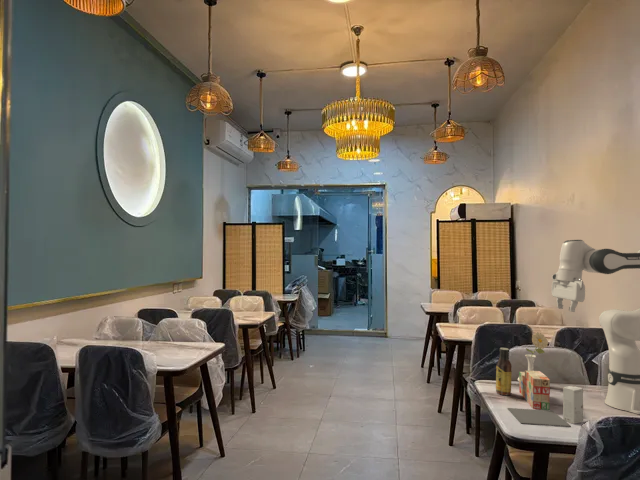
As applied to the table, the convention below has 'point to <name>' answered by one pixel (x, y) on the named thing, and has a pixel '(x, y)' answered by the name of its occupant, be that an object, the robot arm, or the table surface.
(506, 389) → the sauce bottle
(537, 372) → the stack of blocks
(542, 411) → the placemat
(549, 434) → the table surface
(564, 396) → the skincare box
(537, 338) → the flower in vase
